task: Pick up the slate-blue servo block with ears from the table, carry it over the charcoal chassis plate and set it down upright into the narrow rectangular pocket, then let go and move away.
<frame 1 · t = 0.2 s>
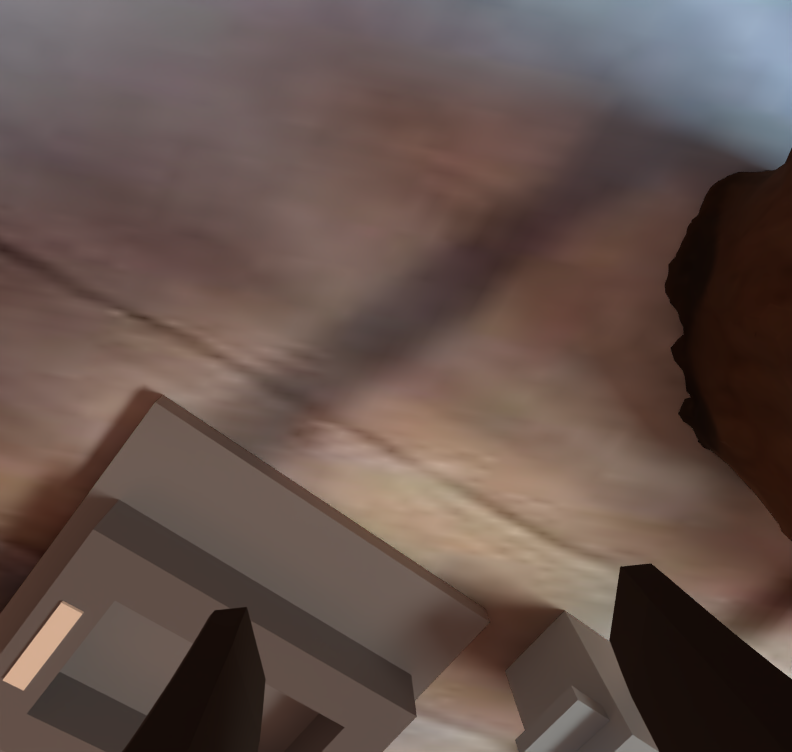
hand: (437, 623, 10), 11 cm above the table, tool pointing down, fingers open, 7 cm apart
servo block: (580, 671, 24), on the table
chassis: (210, 662, 23), on the table
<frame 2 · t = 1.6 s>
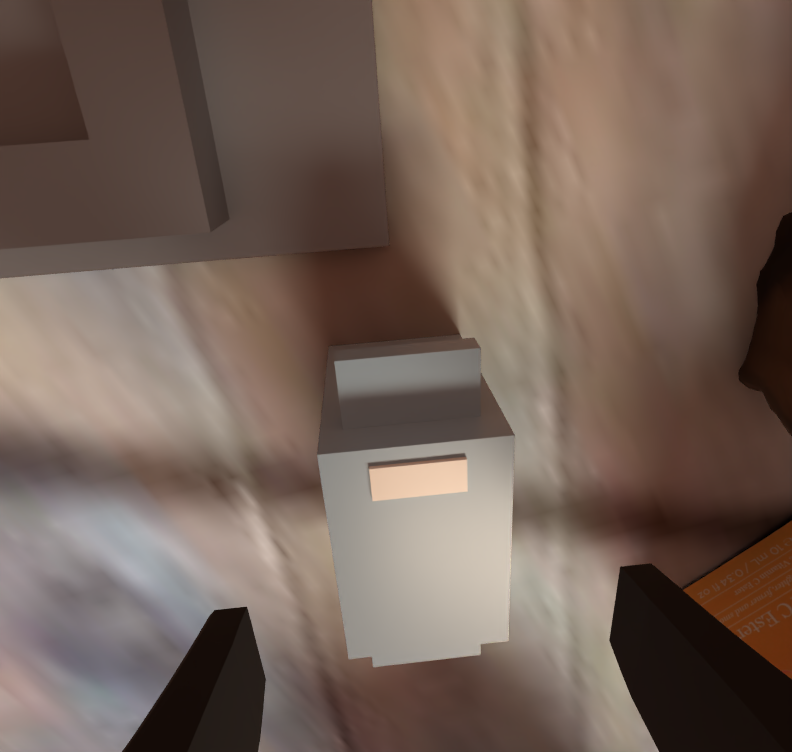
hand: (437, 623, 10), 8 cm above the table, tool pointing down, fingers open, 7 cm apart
small box: (746, 596, 22), on the table
servo block: (400, 425, 17), on the table
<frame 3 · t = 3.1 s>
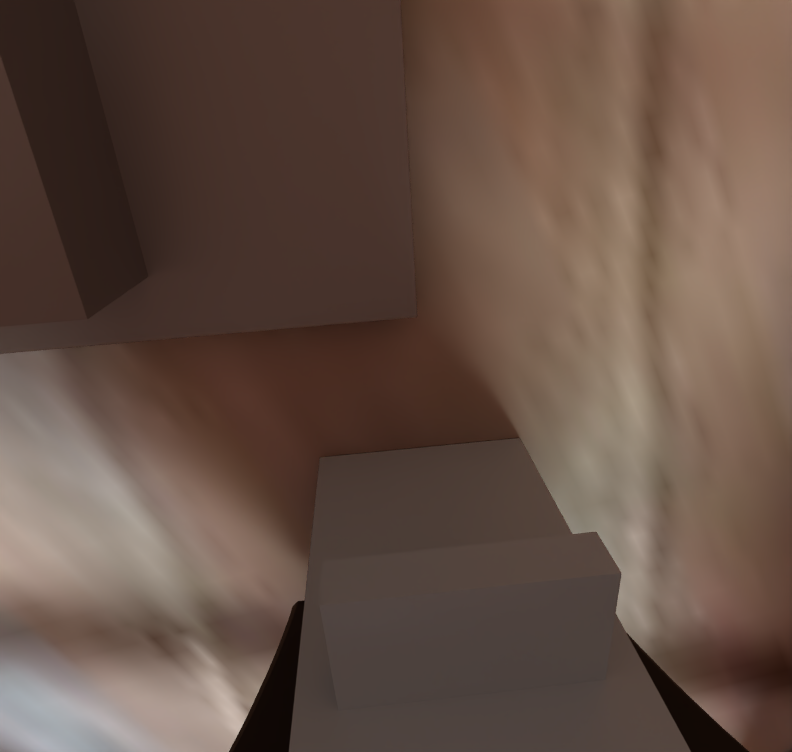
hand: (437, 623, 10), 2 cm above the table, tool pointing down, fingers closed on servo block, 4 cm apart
servo block: (427, 561, 12), on the table, touching gripper
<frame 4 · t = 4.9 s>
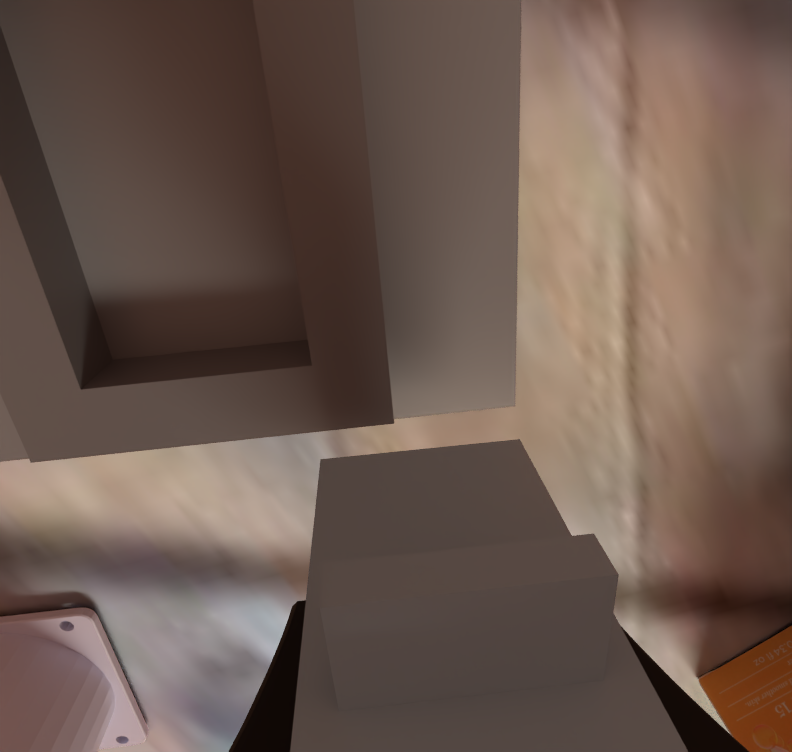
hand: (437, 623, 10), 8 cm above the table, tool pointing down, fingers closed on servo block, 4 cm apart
servo block: (427, 562, 12), point 7 cm above the table, touching gripper
chassis: (180, 166, 14), on the table
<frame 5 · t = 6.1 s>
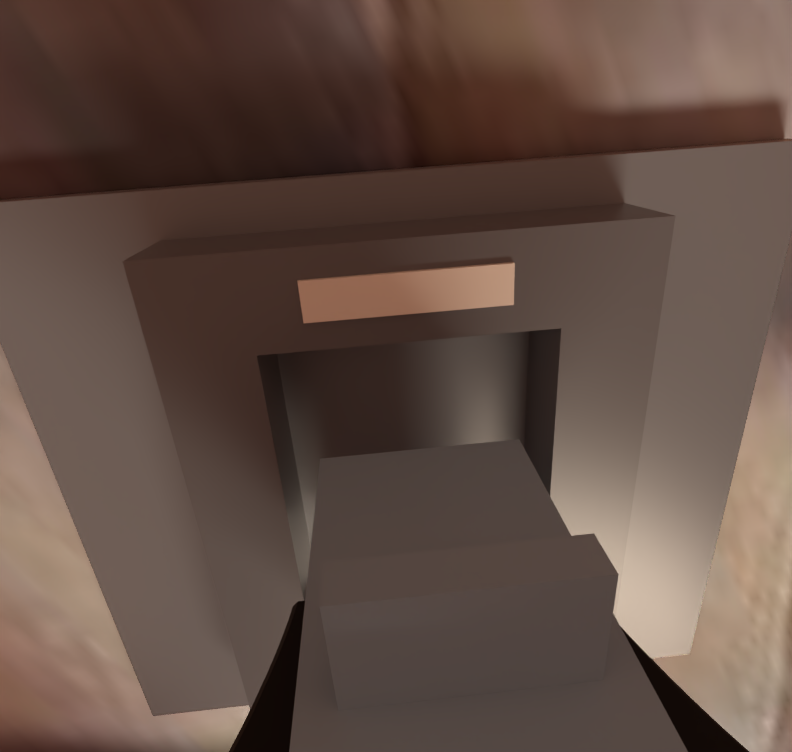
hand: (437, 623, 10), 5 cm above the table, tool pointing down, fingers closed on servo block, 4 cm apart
servo block: (426, 562, 12), point 4 cm above the table, touching gripper
chassis: (410, 471, 15), on the table
when the fingers open (4 cm above the table, at t = 6.7 s): servo block drops 1 cm, resting on chassis.
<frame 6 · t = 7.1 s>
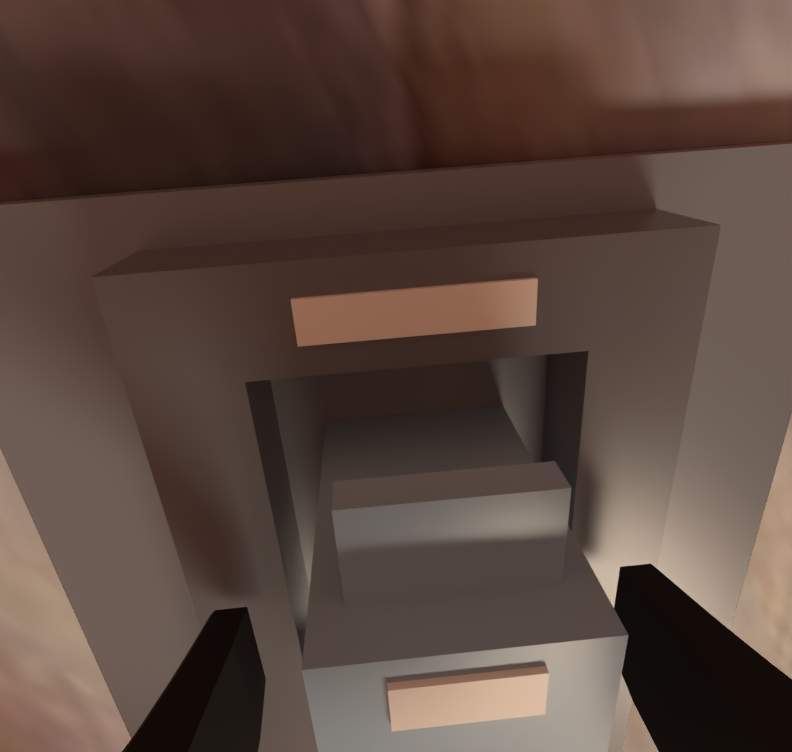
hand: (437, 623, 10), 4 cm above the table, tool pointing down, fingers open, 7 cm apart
servo block: (420, 519, 13), point 1 cm above the table, touching chassis
chassis: (416, 498, 14), on the table
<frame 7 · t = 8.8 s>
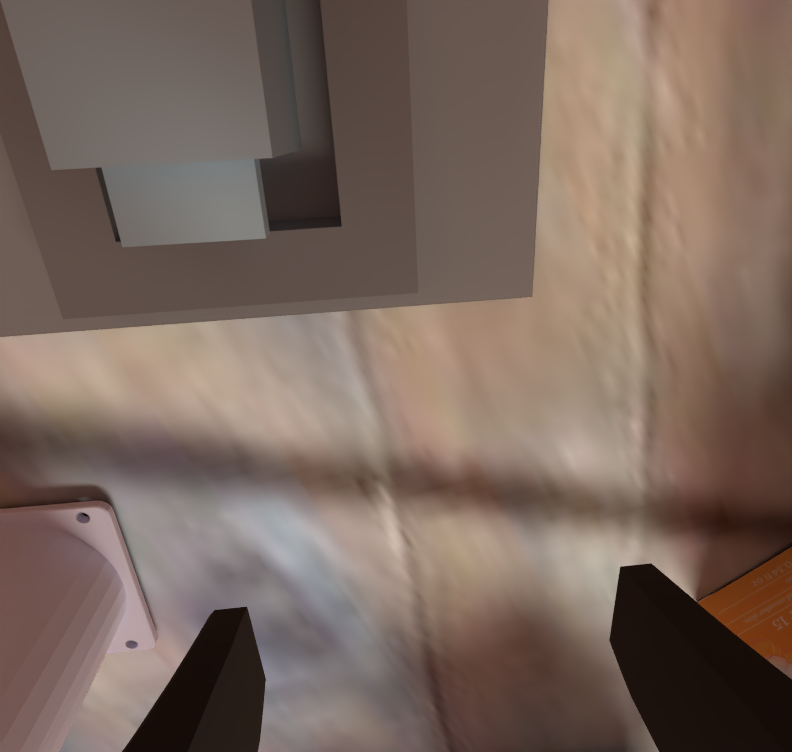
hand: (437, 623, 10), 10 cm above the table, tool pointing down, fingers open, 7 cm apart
small box: (790, 586, 26), on the table
servo block: (211, 29, 14), point 1 cm above the table, touching chassis
chassis: (217, 32, 15), on the table
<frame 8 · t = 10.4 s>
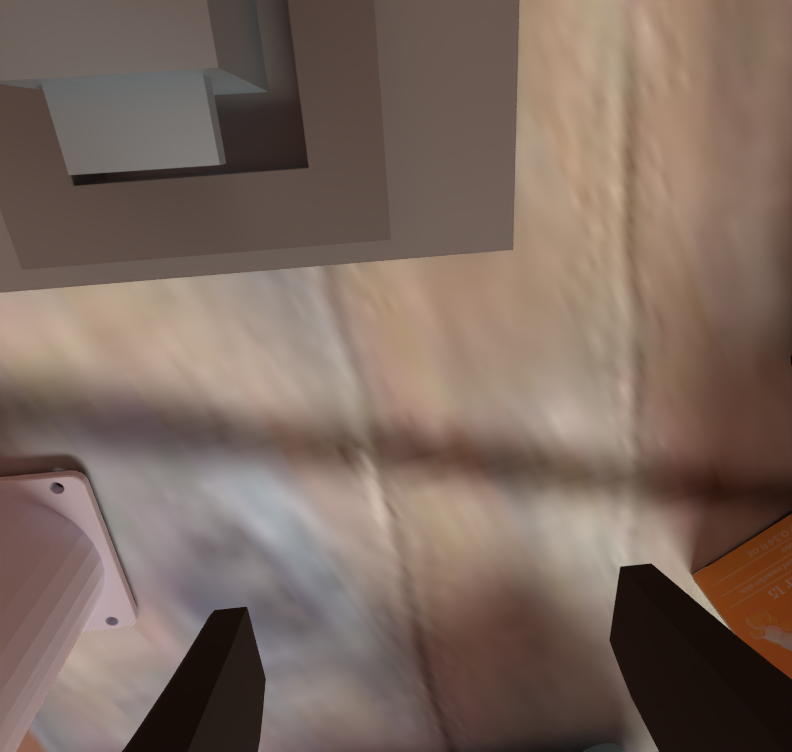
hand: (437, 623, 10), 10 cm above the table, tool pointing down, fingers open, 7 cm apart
small box: (787, 558, 25), on the table
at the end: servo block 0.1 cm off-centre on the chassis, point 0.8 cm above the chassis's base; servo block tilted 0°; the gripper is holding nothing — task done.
